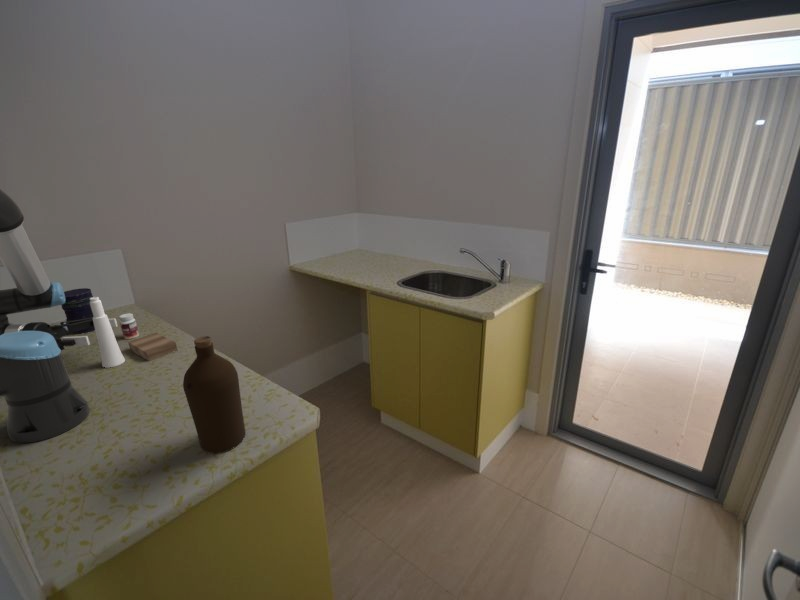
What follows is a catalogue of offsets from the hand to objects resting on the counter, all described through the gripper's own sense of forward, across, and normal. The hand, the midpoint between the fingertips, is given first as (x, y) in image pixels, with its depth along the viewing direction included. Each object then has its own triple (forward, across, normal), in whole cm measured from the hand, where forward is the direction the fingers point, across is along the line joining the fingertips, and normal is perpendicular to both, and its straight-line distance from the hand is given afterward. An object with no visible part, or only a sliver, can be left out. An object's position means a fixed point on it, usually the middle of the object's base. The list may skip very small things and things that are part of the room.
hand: (102, 331), depth 121 cm
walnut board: (+9, -7, -11) cm, 16 cm away
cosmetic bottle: (+1, +1, -11) cm, 11 cm away
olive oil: (+49, +42, -11) cm, 65 cm away
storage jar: (-27, -30, -11) cm, 42 cm away
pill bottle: (-5, -20, -11) cm, 24 cm away
